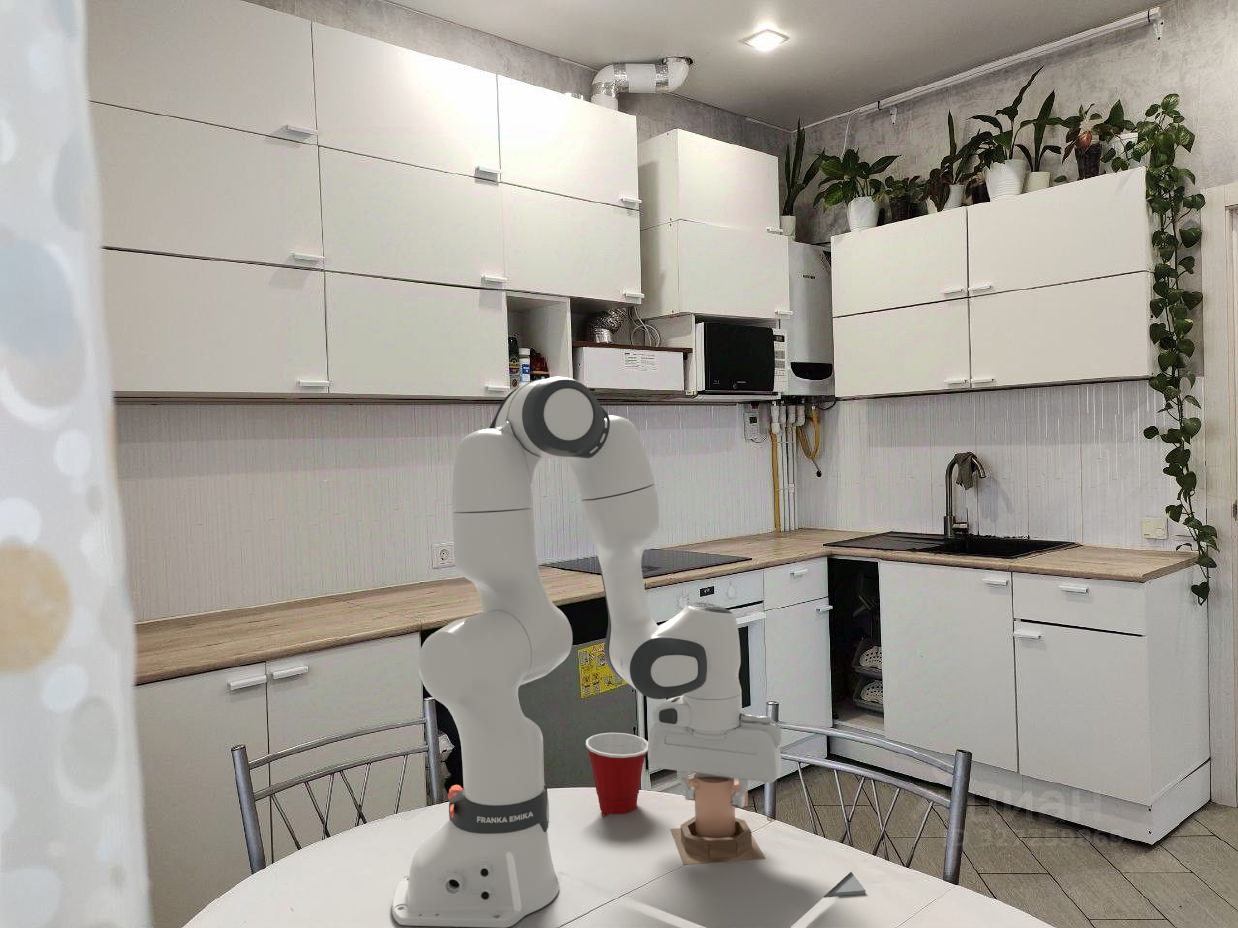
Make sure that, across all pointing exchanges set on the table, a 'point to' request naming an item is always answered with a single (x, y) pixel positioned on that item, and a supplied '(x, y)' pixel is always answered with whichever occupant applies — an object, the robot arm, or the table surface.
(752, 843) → the holder
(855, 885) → the slate mat
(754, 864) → the table surface
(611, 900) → the table surface
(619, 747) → the plastic cup
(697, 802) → the jug
